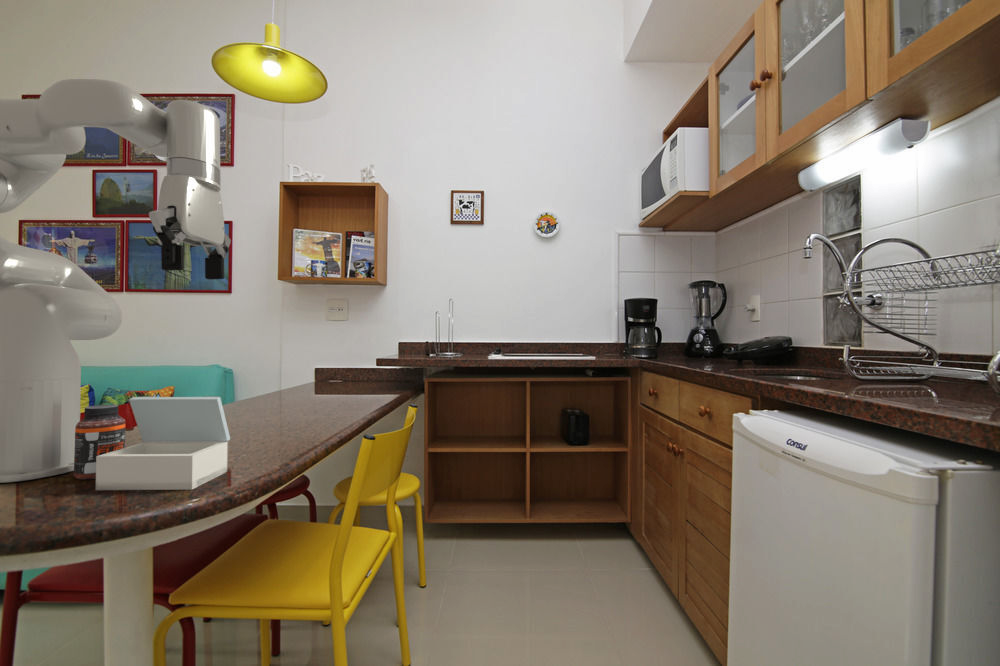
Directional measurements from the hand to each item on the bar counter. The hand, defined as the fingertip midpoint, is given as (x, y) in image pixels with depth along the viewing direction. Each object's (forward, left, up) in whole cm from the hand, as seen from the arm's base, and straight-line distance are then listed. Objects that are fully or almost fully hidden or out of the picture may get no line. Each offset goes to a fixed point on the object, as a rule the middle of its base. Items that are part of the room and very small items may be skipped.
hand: (195, 274), depth 70 cm
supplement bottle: (-13, -3, -34) cm, 36 cm away
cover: (0, -3, -25) cm, 25 cm away
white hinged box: (0, -6, -34) cm, 34 cm away
